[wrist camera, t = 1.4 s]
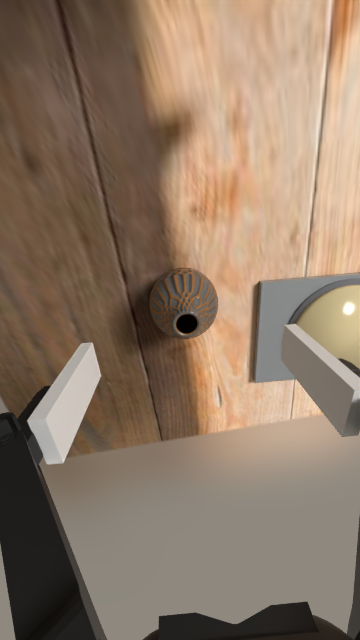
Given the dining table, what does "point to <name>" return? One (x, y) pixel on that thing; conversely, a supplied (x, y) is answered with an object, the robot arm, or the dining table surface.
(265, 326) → the board
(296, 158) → the dining table surface
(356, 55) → the dining table surface
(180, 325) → the vase
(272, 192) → the dining table surface
